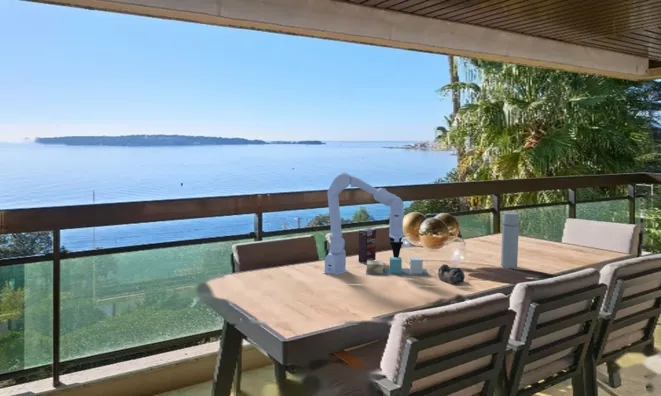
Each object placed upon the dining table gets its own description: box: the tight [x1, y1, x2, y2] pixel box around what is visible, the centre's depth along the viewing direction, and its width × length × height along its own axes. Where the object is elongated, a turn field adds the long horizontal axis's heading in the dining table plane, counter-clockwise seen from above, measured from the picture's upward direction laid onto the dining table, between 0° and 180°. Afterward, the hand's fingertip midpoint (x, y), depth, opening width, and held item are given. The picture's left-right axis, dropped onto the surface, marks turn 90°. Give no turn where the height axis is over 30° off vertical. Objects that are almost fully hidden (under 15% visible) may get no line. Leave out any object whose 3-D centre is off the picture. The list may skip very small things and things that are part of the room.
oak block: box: [366, 260, 384, 274], centre depth 223 cm, size 7×7×4 cm
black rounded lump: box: [437, 263, 466, 285], centre depth 207 cm, size 12×7×10 cm
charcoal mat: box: [365, 267, 430, 277], centre depth 223 cm, size 27×13×1 cm, turn 85°
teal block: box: [389, 256, 403, 273], centre depth 223 cm, size 5×5×6 cm
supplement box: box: [358, 227, 377, 264], centre depth 243 cm, size 9×5×16 cm, turn 143°
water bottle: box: [500, 212, 520, 269], centre depth 234 cm, size 9×8×25 cm
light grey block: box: [409, 256, 424, 274], centre depth 222 cm, size 5×5×6 cm
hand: (395, 255), depth 222 cm, fingers open, 7 cm apart
